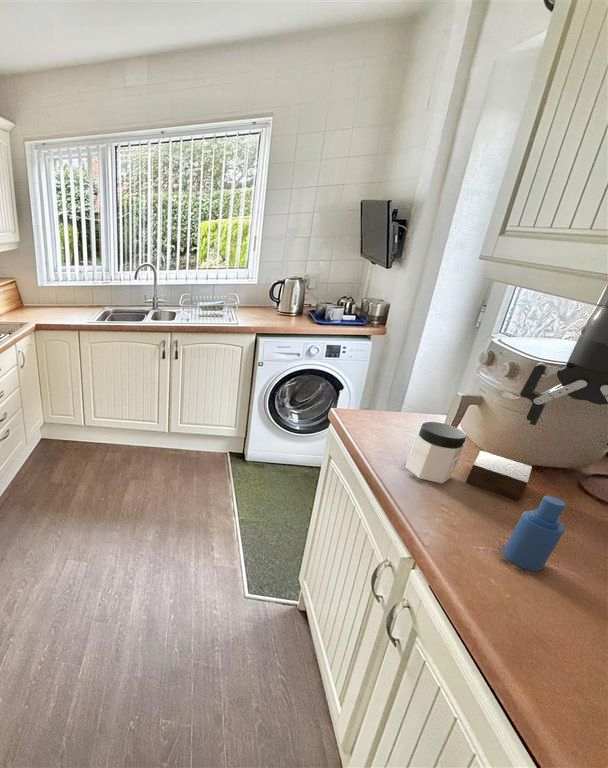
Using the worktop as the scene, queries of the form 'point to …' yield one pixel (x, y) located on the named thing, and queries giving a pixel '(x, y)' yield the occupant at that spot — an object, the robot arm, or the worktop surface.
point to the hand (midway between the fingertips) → (569, 433)
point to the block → (499, 475)
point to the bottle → (536, 535)
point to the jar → (436, 451)
